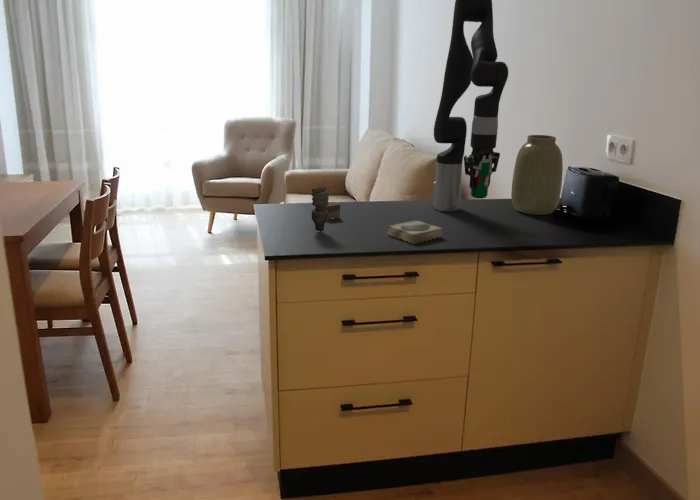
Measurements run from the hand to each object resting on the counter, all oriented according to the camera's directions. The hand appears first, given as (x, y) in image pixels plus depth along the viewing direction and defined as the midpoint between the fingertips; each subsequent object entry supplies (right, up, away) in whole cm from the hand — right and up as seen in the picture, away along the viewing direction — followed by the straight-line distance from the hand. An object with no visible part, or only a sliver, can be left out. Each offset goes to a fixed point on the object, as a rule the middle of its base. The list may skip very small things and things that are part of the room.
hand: (479, 187), depth 191 cm
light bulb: (-49, -14, +7) cm, 51 cm away
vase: (+28, -5, +39) cm, 48 cm away
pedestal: (-19, -15, +5) cm, 25 cm away
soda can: (0, -3, +1) cm, 3 cm away
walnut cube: (-46, -3, +23) cm, 52 cm away
